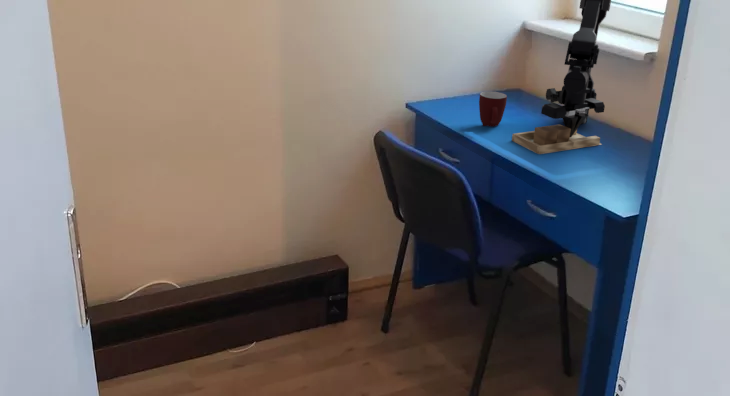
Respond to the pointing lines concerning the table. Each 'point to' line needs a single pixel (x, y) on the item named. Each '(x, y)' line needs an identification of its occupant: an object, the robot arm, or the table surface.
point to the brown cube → (562, 133)
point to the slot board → (573, 143)
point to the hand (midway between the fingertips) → (569, 137)
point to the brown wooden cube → (545, 135)
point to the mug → (492, 107)
